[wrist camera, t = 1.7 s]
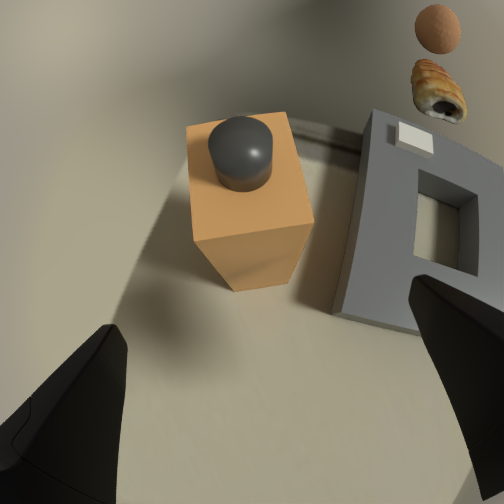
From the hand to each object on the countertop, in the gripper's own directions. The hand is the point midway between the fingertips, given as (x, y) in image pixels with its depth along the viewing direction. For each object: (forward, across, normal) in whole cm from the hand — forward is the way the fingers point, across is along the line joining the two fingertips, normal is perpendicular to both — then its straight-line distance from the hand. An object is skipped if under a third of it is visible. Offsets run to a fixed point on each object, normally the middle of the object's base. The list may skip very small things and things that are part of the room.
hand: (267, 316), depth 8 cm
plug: (+11, 0, +5) cm, 12 cm away
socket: (+11, -14, +5) cm, 18 cm away
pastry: (+22, -22, -5) cm, 32 cm away
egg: (+29, -28, -13) cm, 43 cm away
